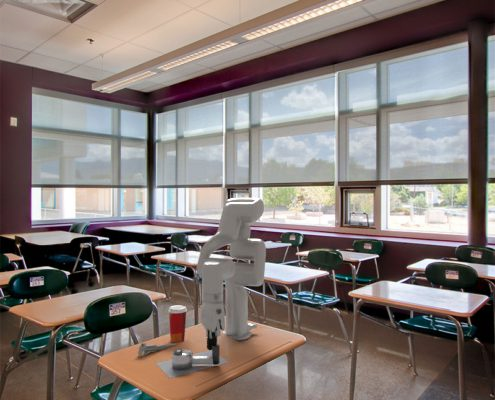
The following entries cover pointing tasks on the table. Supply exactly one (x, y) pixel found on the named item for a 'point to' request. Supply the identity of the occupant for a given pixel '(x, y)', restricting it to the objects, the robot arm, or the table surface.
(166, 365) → the stand
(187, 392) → the table surface
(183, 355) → the metal crank handle
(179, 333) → the paper cup
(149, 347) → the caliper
